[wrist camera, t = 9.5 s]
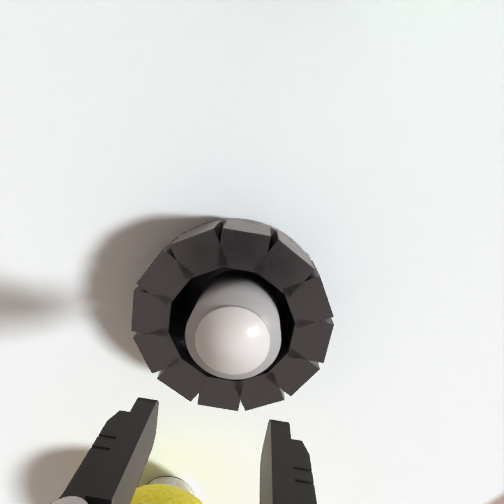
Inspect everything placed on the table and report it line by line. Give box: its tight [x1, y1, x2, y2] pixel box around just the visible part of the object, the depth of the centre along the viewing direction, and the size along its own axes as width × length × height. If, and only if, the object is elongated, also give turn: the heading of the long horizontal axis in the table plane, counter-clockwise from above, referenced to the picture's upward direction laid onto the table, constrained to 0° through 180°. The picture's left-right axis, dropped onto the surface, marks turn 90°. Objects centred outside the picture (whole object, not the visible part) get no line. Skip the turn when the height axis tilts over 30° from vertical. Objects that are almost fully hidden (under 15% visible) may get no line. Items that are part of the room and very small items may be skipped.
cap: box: [185, 270, 281, 380], centre depth 19 cm, size 6×6×4 cm
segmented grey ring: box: [132, 218, 334, 411], centre depth 21 cm, size 12×12×4 cm
